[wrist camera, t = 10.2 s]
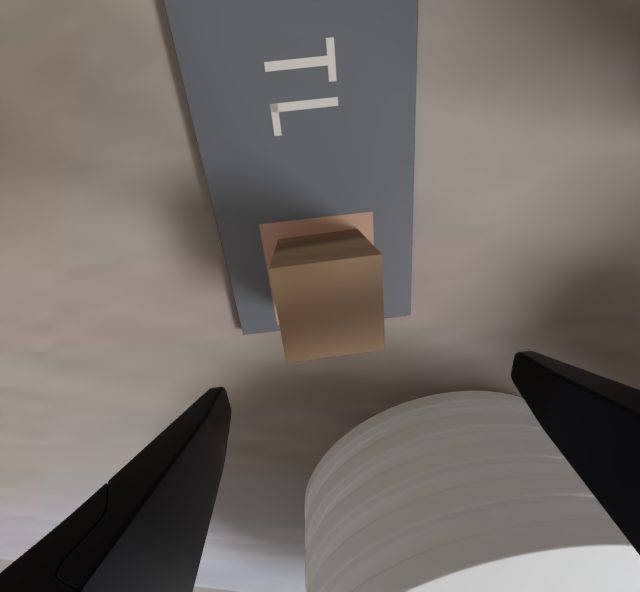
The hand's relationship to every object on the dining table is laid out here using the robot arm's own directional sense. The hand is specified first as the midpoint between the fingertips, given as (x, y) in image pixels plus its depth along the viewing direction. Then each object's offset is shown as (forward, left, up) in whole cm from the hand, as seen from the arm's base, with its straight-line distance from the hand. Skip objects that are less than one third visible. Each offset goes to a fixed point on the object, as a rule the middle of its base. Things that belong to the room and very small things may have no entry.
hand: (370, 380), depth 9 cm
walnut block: (+1, 0, -11) cm, 11 cm away
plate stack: (+10, +26, -12) cm, 30 cm away
